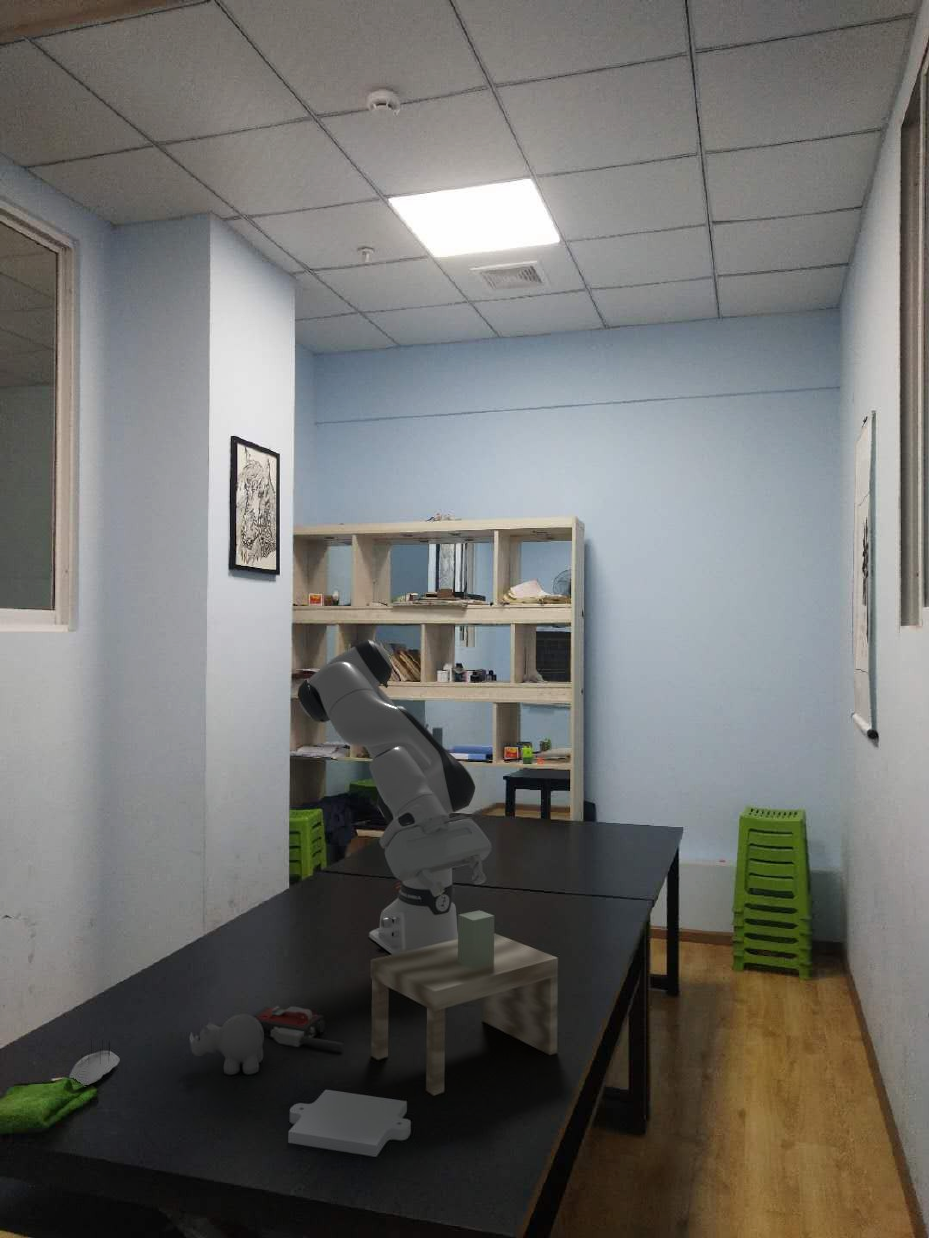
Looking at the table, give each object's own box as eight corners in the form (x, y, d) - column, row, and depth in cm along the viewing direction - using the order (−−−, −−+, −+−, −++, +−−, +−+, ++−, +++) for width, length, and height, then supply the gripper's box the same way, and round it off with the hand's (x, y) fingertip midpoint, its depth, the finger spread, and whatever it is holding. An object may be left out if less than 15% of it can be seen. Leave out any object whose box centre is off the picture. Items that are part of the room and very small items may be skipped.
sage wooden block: (457, 962, 163) (458, 914, 163) (478, 957, 166) (479, 910, 166) (472, 969, 160) (473, 920, 160) (493, 963, 163) (494, 915, 163)
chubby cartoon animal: (196, 1057, 162) (197, 1006, 162) (268, 1059, 162) (268, 1007, 162) (182, 1077, 155) (183, 1023, 155) (257, 1079, 155) (258, 1024, 155)
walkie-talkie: (236, 1039, 171) (339, 1056, 164) (237, 1013, 171) (340, 1030, 164) (263, 1020, 179) (362, 1036, 172) (263, 996, 179) (362, 1011, 173)
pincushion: (93, 1095, 149) (94, 1058, 149) (56, 1092, 150) (56, 1055, 150) (130, 1061, 161) (130, 1026, 161) (95, 1058, 162) (95, 1024, 162)
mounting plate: (422, 1116, 144) (423, 1103, 144) (393, 1162, 132) (394, 1148, 132) (310, 1099, 149) (310, 1087, 149) (271, 1142, 136) (271, 1128, 137)
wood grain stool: (369, 1055, 164) (370, 959, 164) (489, 1018, 180) (489, 931, 180) (433, 1096, 150) (434, 991, 150) (556, 1052, 166) (557, 957, 166)
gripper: (460, 823, 184) (497, 885, 177) (371, 843, 171) (407, 911, 164) (475, 803, 181) (513, 865, 174) (385, 821, 168) (422, 890, 160)
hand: (461, 887), depth 168 cm, fingers open, 8 cm apart
